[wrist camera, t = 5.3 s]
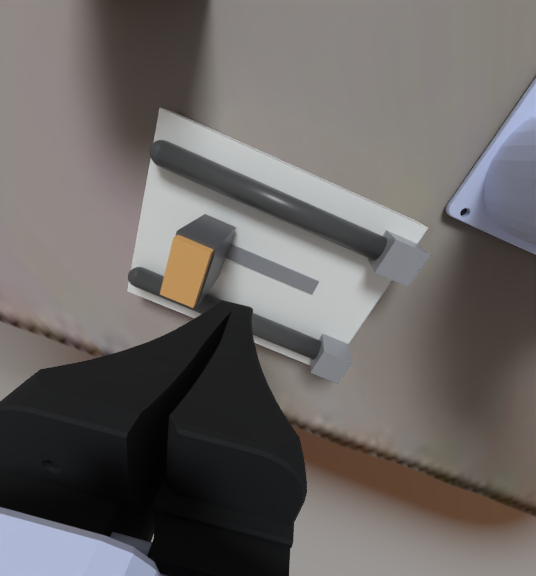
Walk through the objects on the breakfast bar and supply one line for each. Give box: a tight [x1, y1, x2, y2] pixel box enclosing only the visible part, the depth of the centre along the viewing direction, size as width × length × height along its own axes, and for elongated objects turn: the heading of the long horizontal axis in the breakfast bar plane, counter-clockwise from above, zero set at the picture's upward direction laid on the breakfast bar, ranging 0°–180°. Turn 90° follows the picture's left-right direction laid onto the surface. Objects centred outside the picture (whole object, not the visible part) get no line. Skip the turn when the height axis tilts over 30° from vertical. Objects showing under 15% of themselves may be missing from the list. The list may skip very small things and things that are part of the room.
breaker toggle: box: [160, 214, 236, 308], centre depth 15 cm, size 2×4×4 cm, turn 158°
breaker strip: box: [127, 108, 431, 384], centre depth 18 cm, size 16×12×4 cm
